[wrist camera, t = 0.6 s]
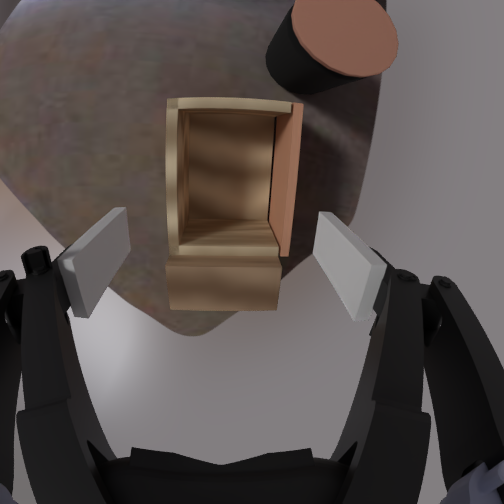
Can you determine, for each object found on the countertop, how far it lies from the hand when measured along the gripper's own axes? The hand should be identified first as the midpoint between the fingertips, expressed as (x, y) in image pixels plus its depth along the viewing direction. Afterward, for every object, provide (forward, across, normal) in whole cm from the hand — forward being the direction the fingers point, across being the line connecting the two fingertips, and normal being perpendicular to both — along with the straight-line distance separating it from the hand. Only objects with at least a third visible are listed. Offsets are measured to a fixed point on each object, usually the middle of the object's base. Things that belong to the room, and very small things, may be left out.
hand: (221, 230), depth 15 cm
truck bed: (+26, 0, -3) cm, 26 cm away
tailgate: (+25, +7, 0) cm, 26 cm away
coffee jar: (+26, +10, +17) cm, 33 cm away
